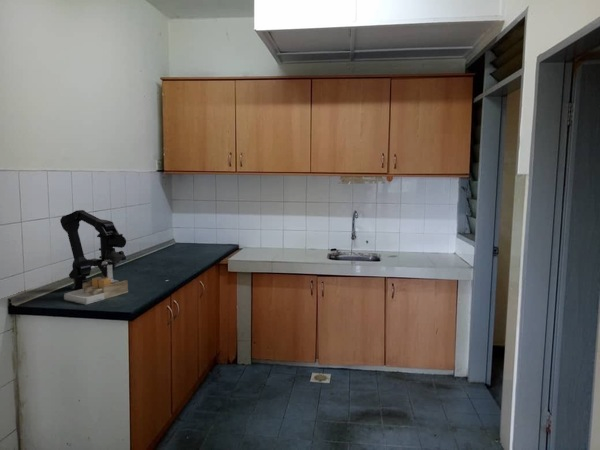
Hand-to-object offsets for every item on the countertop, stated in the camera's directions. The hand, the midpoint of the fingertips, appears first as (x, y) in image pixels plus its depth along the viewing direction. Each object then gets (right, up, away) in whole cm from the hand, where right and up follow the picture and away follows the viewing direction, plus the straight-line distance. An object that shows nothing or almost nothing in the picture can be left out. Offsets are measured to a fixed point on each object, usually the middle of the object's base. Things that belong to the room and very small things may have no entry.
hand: (108, 276), depth 219 cm
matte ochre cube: (-4, -5, -2) cm, 6 cm away
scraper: (0, -4, +1) cm, 4 cm away
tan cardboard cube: (0, -5, -4) cm, 6 cm away
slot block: (-1, -9, -1) cm, 9 cm away
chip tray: (-7, -10, -11) cm, 16 cm away
